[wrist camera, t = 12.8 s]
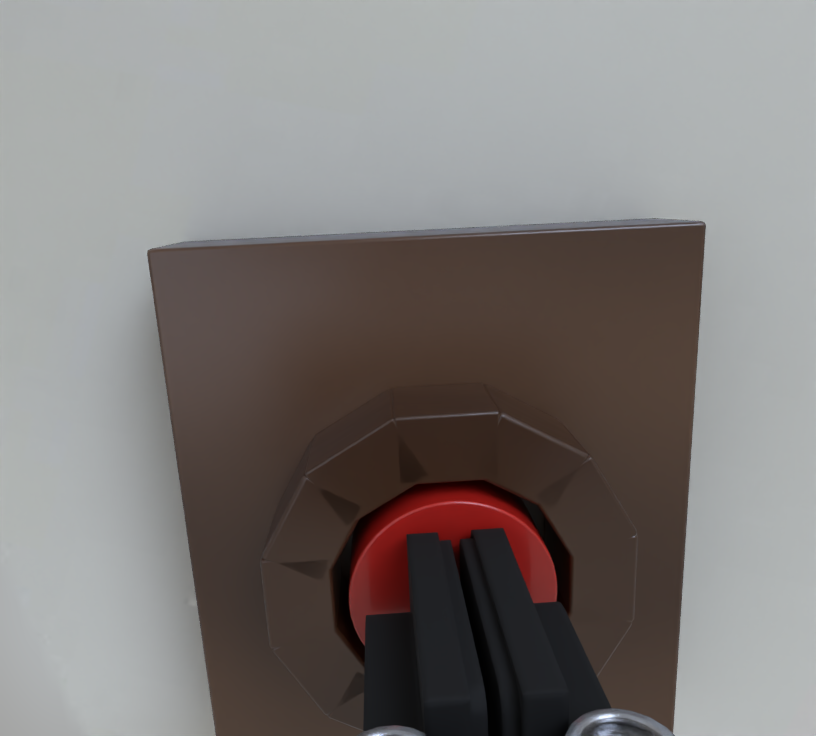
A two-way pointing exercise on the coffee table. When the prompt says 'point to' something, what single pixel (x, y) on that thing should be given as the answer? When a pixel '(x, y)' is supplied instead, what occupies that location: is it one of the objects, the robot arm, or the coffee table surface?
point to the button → (453, 520)
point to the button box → (428, 435)
